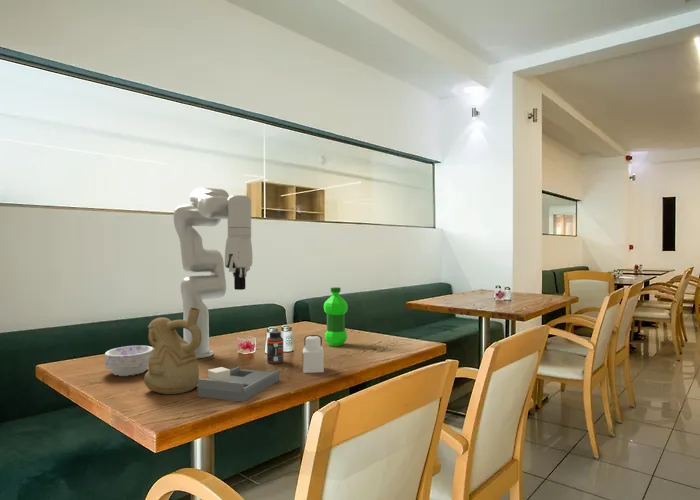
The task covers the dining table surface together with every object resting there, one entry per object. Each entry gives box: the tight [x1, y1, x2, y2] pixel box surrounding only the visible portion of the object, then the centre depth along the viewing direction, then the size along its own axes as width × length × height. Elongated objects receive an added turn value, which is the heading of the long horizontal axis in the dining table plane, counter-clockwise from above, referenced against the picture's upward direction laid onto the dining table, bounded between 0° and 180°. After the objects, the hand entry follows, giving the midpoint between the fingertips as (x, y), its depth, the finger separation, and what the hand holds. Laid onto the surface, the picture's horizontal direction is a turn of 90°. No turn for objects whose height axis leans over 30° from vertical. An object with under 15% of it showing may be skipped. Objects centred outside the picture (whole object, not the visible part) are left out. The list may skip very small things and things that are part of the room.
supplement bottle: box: [266, 330, 284, 365], centre depth 172 cm, size 6×6×11 cm
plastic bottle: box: [323, 286, 349, 347], centre depth 202 cm, size 10×10×25 cm
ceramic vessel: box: [143, 308, 202, 395], centre depth 140 cm, size 17×20×25 cm
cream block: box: [207, 366, 231, 382], centre depth 135 cm, size 5×5×5 cm
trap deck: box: [197, 365, 280, 403], centre depth 141 cm, size 15×22×5 cm
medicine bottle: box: [302, 334, 325, 374], centre depth 161 cm, size 7×7×12 cm
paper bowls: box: [104, 345, 155, 377], centre depth 159 cm, size 15×15×8 cm
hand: (239, 289), depth 151 cm, fingers closed
